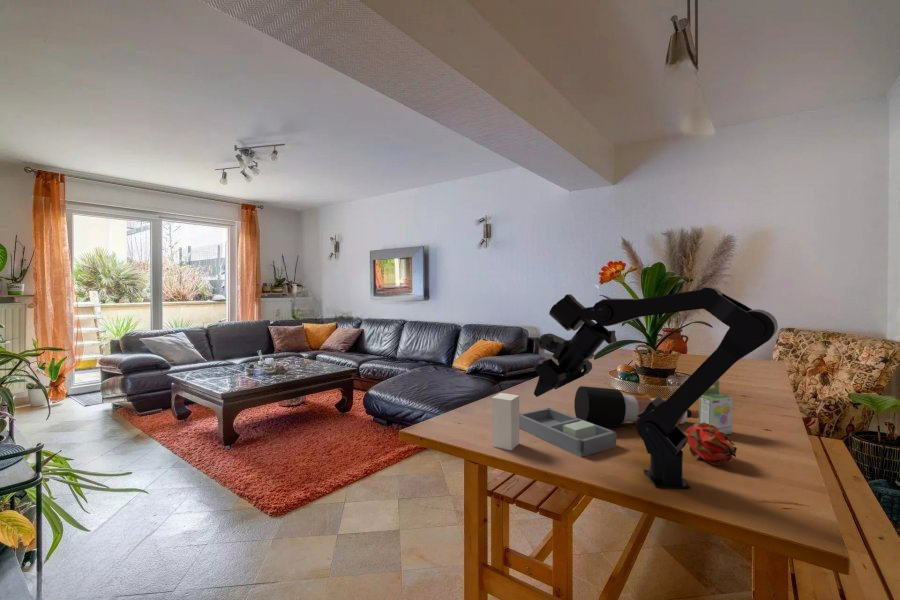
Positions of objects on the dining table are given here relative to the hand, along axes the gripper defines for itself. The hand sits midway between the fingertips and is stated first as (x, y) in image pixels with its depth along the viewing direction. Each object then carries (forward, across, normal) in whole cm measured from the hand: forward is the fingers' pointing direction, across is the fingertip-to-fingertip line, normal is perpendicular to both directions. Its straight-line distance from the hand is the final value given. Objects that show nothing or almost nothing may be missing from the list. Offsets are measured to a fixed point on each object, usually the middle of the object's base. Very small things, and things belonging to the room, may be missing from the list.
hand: (545, 391), depth 99 cm
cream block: (+15, +6, +2) cm, 16 cm away
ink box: (-8, -37, +32) cm, 49 cm away
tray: (+10, -9, +8) cm, 16 cm away
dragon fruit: (-9, -17, +33) cm, 38 cm away
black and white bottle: (+3, -31, +18) cm, 36 cm away
